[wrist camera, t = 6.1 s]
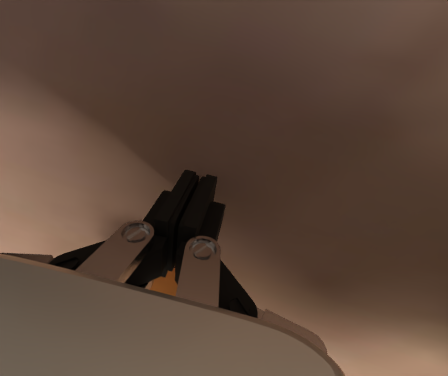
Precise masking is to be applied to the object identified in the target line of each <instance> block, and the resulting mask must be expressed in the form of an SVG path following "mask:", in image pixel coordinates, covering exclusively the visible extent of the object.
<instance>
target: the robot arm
mask: <svg viewBox="0 0 448 376" xmlns="http://www.w3.org/2000/svg"><path fill="white" fill-rule="evenodd" d="M216 182H217V177H215V176H211V175H206V177H203V176H202V177H201V179H200V182H199V176H198V175H196V172H193V171H189V170H185V171H184V172H183V174H182V175H181V177H180V179H179V180H178V182H177V183H176V185H175V186H174V188H173V190H172V191H171V192H170V191H165V190H164V191H163V192H162V193H161V195H160V196H159V198H158V199H157V201H156V202H155V204H154V205H153V207H152V208H151V209H150V211H149V212H148V214H147V215H146V217H145V218H144V220H143V221H131V222H128V223H125V224H124V225H122V226H121V227H120V228H119V229H118V230H117V231H116V232H115V233H114V234H113V235H112V236H111V237H110V238H108V239H107V240H106V241H103V242H99V243H96V244H93V245H90V246H87V247H83V248H80V249H77V250H74V251H71V252H67V253H64V254H62V255H59V256H57V257H56V258H53V256H52V255H40V254H17V253H0V376H345V374H344V373H343V371H342V370H341V368H340V367H339V366H338V365H337V364H336V363H335V361H334V360H333V359H332V358H331V357H329V356H328V355H327V349H326V347H325V345H324V343H323V341H322V340H321V339H320V338H319V336H317V335H316V334H314V333H313V332H311V331H309V330H307V329H305V328H303V327H301V326H299V325H297V324H295V323H293V322H291V321H289V320H287V319H285V318H283V317H281V316H279V315H277V314H275V313H273V312H271V311H269V310H267V309H265V311H263V310H261V309H259V308H257V307H256V305H255V303H254V302H253V300H252V299H251V298H250V296H249V295H248V294H247V293H246V291H245V290H244V289H243V288H242V286H241V285H240V284H239V282H238V281H237V280H236V279H235V277H234V276H233V275H232V274H231V272H230V271H229V270H228V269H227V267H226V266H225V265H224V263H223V262H222V261H221V260H220V254H221V250H220V246H219V244H218V243H217V240H218V236H219V232H220V228H221V224H222V220H223V215H224V210H225V204H221V203H217V202H213V200H214V194H215V188H216ZM174 266H175V281H176V283H177V285H178V286H177V291H176V296H172V295H169V294H165V293H161V292H157V291H153V290H150V288H151V287H152V285H153V283H154V279H156V278H159V277H166V275H167V273H168V271H171V272H172V271H173V268H174Z"/></svg>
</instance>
